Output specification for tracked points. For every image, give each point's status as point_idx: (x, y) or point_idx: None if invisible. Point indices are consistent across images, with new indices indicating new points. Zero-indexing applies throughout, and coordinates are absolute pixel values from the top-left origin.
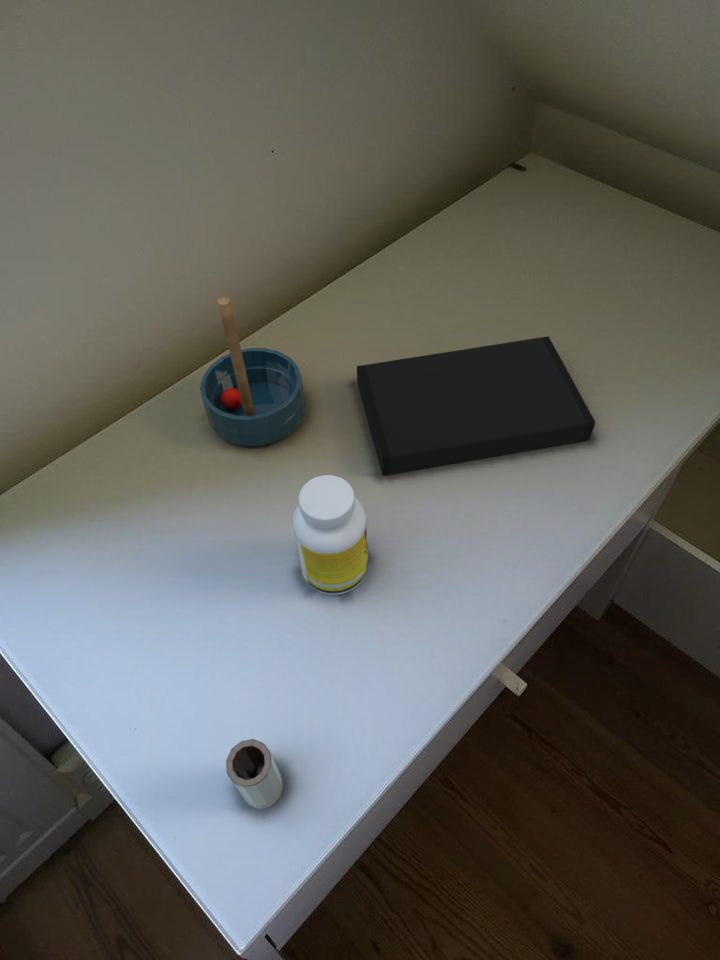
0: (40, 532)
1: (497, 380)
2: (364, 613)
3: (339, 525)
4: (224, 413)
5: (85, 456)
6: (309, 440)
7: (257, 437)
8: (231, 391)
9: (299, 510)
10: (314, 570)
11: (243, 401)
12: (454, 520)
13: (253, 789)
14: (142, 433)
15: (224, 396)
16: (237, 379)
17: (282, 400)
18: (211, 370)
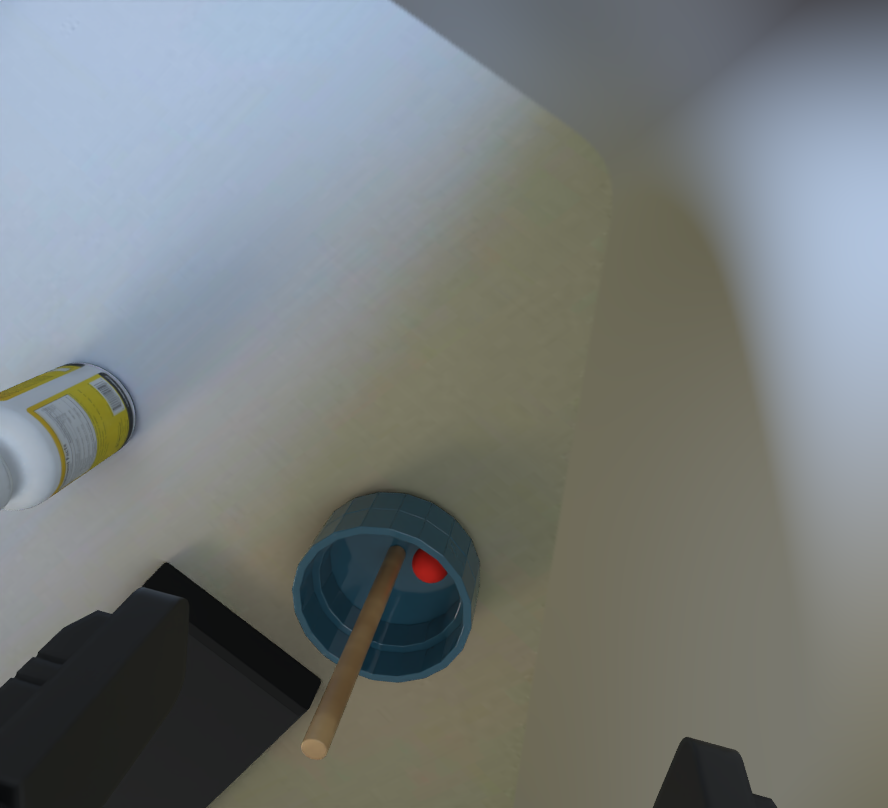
0: (495, 154)
1: (139, 768)
2: (18, 374)
3: None
4: (357, 532)
5: (574, 326)
6: (293, 559)
7: (326, 523)
8: (424, 575)
9: (22, 445)
10: (27, 381)
11: (383, 568)
12: (51, 551)
13: None
14: (528, 425)
15: (430, 561)
16: (371, 601)
17: None
18: (460, 595)
